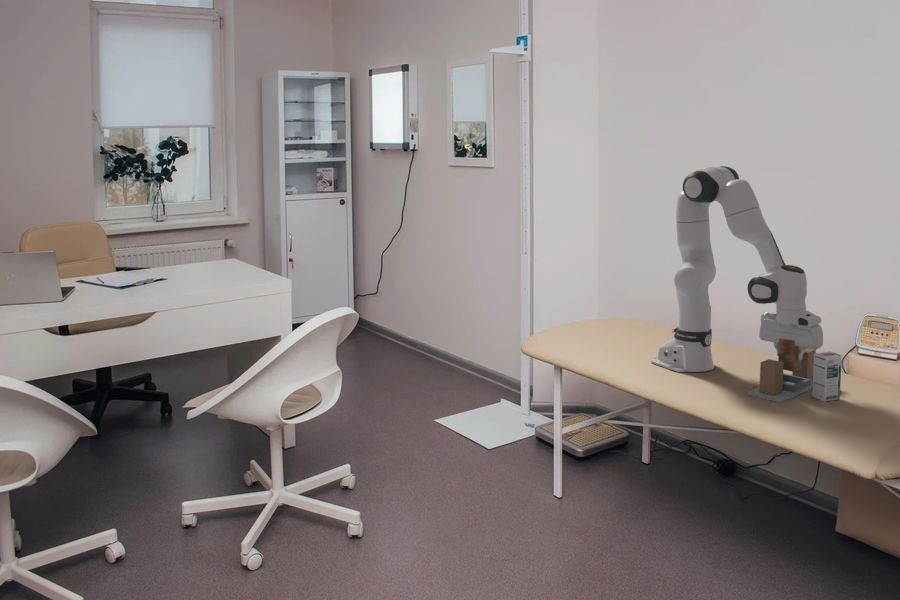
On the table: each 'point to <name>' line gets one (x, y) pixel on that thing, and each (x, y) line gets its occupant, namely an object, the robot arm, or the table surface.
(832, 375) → the syrup box
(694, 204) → the robot arm
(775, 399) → the grey base with blocks
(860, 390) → the table surface
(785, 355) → the block
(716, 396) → the table surface
